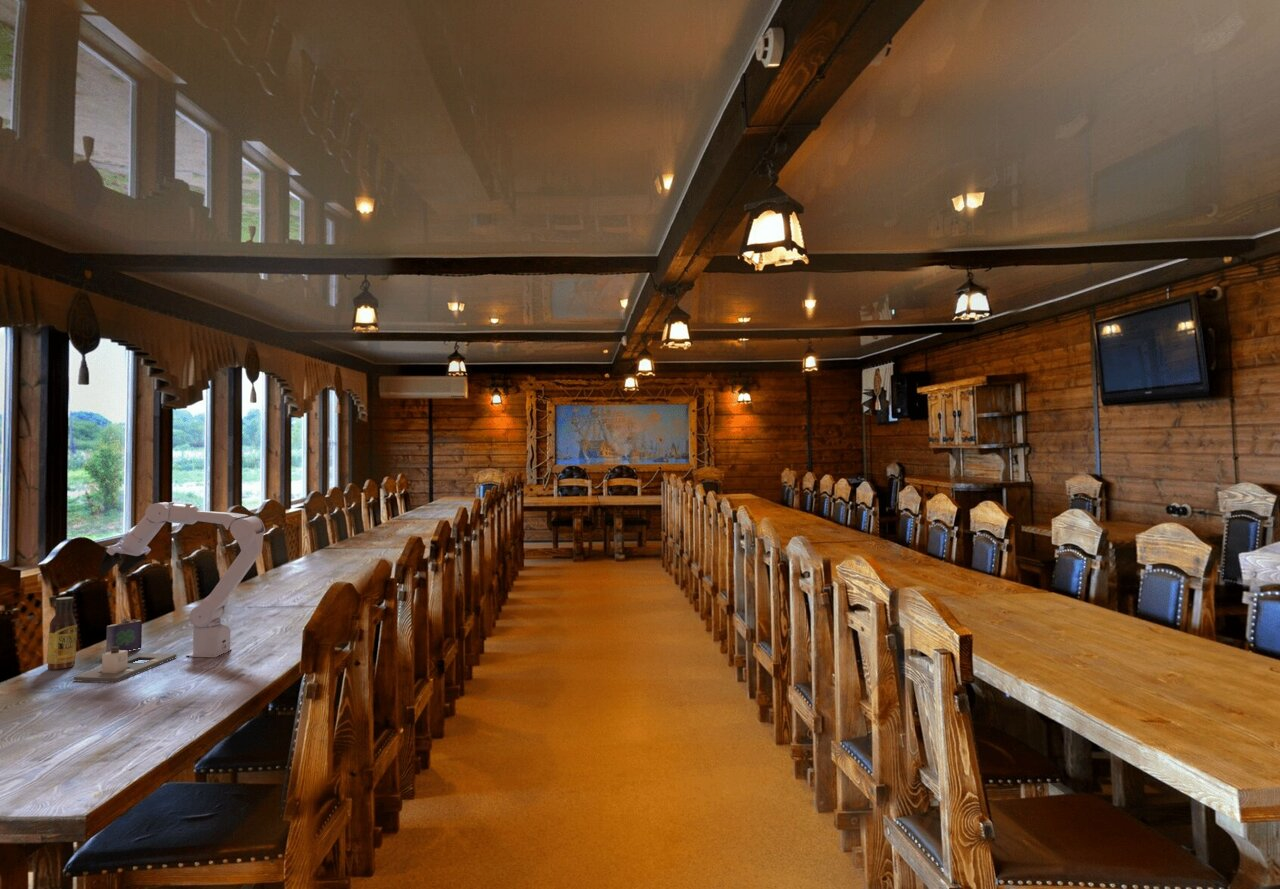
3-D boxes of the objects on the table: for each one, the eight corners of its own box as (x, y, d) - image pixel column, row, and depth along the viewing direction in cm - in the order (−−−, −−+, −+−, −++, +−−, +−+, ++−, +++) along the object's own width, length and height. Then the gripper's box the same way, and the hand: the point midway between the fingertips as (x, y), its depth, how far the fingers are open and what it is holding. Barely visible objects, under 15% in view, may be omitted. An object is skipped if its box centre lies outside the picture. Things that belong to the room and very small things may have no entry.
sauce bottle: (59, 671, 194) (60, 601, 194) (41, 670, 195) (42, 600, 195) (82, 664, 200) (83, 596, 200) (64, 663, 201) (65, 595, 202)
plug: (129, 671, 193) (129, 645, 194) (117, 676, 189) (118, 649, 190) (113, 671, 194) (114, 645, 194) (101, 676, 190) (102, 649, 190)
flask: (107, 656, 208) (108, 620, 209) (104, 654, 210) (104, 619, 210) (143, 649, 216) (143, 614, 216) (139, 647, 218) (139, 613, 218)
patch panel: (176, 658, 207) (176, 653, 207) (115, 682, 185) (115, 677, 185) (138, 657, 208) (138, 652, 208) (73, 681, 186) (73, 676, 186)
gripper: (149, 528, 217) (120, 563, 215) (112, 527, 202) (81, 565, 201) (165, 542, 216) (136, 577, 214) (130, 542, 201) (99, 579, 200)
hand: (111, 572), depth 208 cm, fingers open, 7 cm apart
